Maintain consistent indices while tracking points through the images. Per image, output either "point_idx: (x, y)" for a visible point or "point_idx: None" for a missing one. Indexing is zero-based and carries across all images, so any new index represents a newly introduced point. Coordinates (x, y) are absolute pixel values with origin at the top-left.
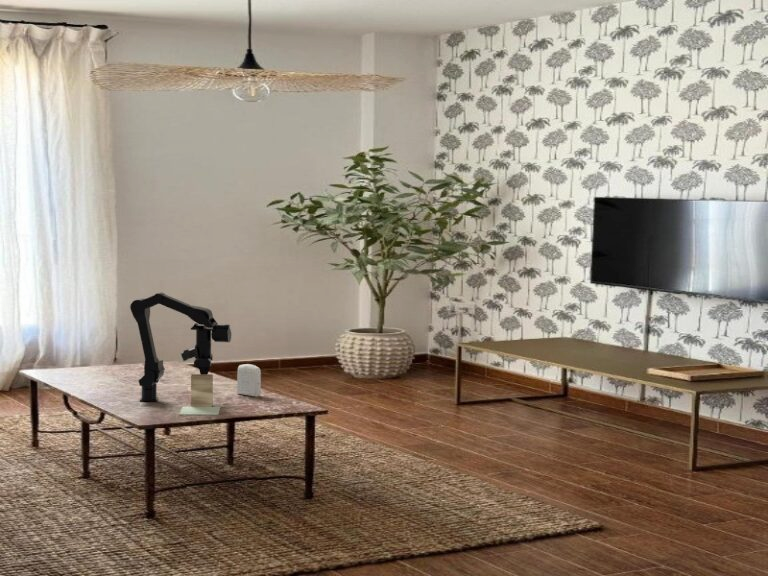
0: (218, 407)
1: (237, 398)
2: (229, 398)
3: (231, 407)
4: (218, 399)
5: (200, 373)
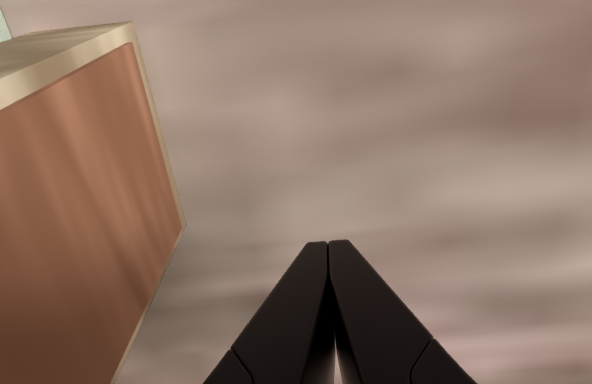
0: None
1: (522, 358)
2: (531, 309)
3: (147, 351)
4: (490, 235)
5: (225, 364)
